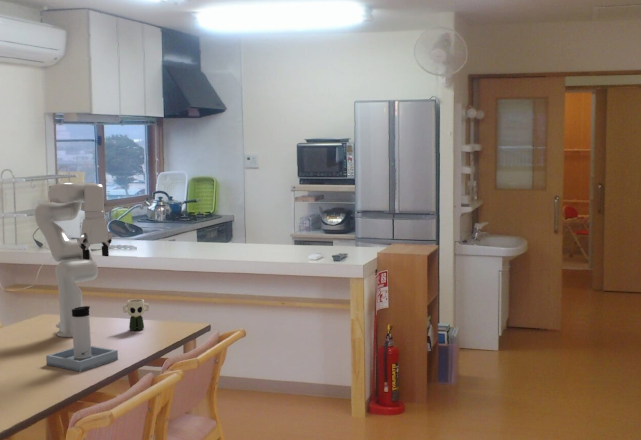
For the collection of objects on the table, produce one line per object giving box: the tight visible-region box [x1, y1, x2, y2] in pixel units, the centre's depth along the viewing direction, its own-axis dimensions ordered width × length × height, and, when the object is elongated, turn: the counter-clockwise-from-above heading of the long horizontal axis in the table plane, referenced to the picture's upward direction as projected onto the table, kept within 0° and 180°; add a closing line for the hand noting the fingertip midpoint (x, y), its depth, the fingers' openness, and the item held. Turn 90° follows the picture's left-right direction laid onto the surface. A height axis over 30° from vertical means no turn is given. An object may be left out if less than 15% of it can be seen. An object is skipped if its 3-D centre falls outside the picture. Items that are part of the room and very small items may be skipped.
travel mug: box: [72, 305, 92, 361], centre depth 287 cm, size 6×7×20 cm
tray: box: [45, 345, 119, 373], centre depth 287 cm, size 18×18×4 cm
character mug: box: [122, 298, 150, 331], centre depth 336 cm, size 11×7×13 cm, turn 106°
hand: (95, 257), depth 308 cm, fingers open, 9 cm apart
